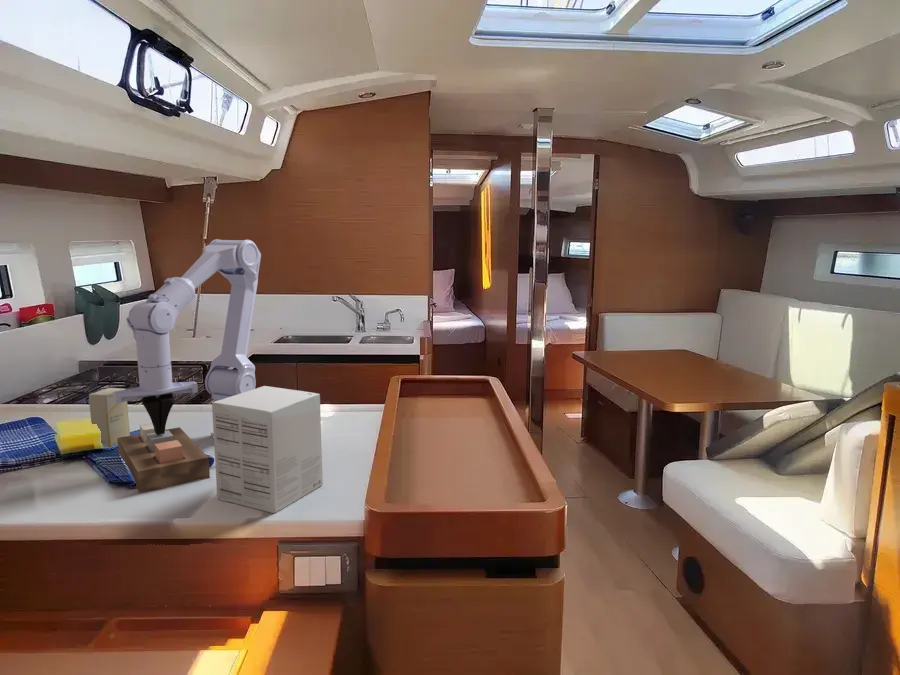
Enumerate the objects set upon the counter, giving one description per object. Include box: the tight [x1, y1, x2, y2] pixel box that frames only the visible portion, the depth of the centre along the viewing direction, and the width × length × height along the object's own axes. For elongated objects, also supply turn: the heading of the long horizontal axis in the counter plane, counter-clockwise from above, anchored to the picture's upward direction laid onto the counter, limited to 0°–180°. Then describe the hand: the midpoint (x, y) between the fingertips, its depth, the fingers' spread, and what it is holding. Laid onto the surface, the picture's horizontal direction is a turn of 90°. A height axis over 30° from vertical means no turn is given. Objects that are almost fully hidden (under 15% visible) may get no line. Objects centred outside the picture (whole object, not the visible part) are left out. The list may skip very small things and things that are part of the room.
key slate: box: [147, 430, 174, 453], centre depth 119 cm, size 4×4×4 cm
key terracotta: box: [154, 440, 183, 464], centre depth 114 cm, size 4×4×4 cm
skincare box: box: [88, 387, 131, 447], centre depth 131 cm, size 6×4×12 cm
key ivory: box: [139, 422, 155, 443], centre depth 125 cm, size 4×4×4 cm
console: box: [117, 426, 211, 494], centre depth 120 cm, size 12×22×4 cm, turn 37°
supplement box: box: [211, 385, 324, 514], centre depth 107 cm, size 13×13×18 cm
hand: (159, 433), depth 119 cm, fingers closed
